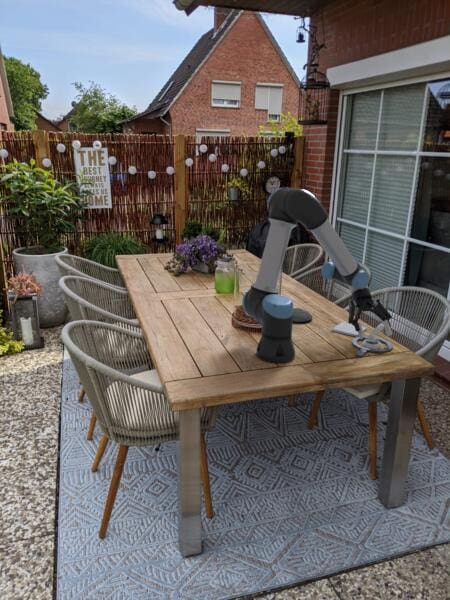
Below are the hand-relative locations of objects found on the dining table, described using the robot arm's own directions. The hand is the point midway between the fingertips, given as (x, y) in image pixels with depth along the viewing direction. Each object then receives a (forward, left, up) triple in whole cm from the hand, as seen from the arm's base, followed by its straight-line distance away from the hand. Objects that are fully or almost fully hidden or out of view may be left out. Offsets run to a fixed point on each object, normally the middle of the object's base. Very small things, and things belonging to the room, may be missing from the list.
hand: (376, 336), depth 183 cm
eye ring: (-2, +2, -5) cm, 5 cm away
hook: (+1, +2, -5) cm, 6 cm away
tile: (+12, +16, -5) cm, 21 cm away
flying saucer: (+11, +43, -5) cm, 45 cm away
